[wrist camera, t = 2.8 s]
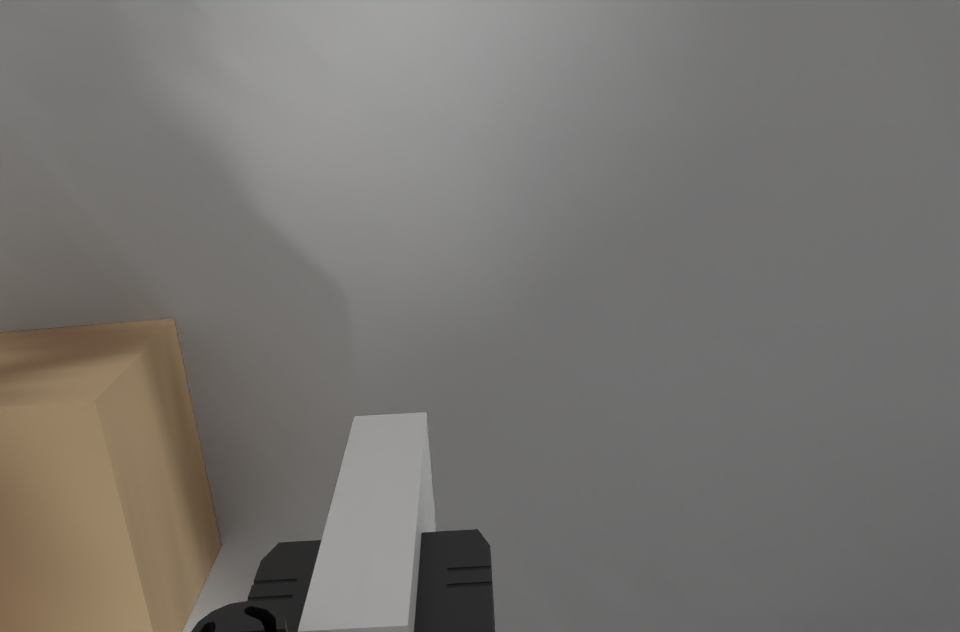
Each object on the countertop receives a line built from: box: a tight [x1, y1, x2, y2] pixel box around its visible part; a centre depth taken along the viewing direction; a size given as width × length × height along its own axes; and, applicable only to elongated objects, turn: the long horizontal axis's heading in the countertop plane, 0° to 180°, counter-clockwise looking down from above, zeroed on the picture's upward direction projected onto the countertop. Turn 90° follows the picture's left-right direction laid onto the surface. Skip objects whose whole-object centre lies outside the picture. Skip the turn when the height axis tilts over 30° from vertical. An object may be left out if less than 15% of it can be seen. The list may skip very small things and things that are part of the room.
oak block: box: [0, 318, 222, 632], centre depth 19 cm, size 6×6×4 cm
